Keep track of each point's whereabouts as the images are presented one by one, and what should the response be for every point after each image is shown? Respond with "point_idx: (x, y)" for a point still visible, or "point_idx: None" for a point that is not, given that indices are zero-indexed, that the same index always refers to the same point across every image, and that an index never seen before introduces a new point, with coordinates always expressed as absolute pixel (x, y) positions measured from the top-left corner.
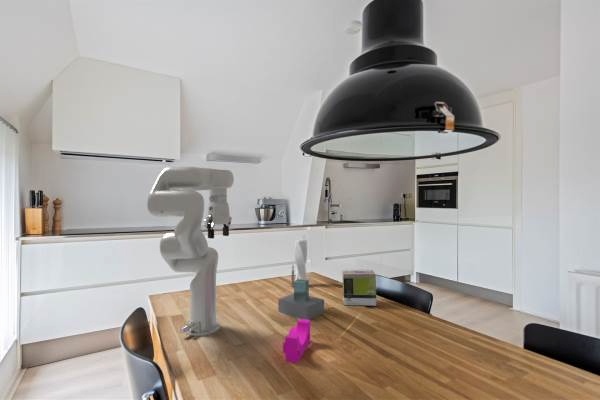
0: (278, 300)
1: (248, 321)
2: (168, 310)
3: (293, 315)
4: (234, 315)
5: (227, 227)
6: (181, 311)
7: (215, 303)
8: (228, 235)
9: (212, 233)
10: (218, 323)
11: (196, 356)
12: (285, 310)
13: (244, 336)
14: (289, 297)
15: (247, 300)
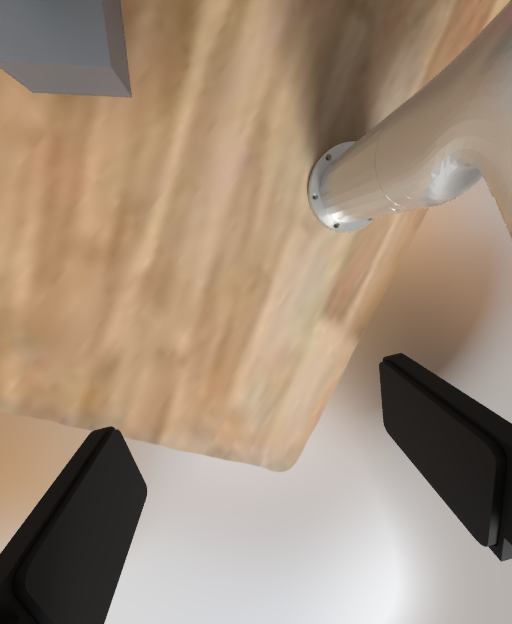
0: (113, 69)
1: (247, 123)
2: (324, 360)
3: (119, 6)
4: (245, 197)
5: (8, 602)
6: (311, 332)
7: (366, 133)
8: (98, 430)
9: (455, 400)
10: (317, 171)
11: (449, 63)
12: (121, 48)
13: (321, 44)
14: (60, 35)
15: (142, 268)
